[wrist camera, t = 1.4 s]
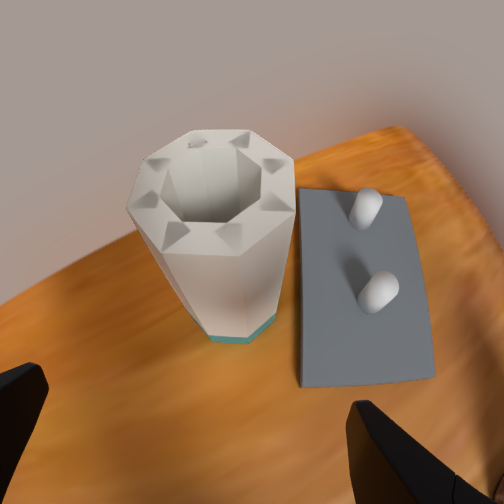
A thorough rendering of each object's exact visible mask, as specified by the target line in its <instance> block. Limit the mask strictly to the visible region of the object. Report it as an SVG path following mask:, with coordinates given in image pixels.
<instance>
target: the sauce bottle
mask: <svg viewBox="0 0 504 504" xmlns="http://www.w3.org/2000/svg"><path fill="white" fill-rule="evenodd" d="M494 501H495V502H497V503H499V504H504V476H503V478H502V479H501V482H500V484H499V486H498V488H497V490H496V493H495V497H494Z"/></svg>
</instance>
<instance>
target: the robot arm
mask: <svg viewBox="0 0 504 504" xmlns="http://www.w3.org/2000/svg"><path fill="white" fill-rule="evenodd" d="M48 391H49V386H48V383H47V380H46V378H45V375H44V373H43V370H42V368H41V367H40V365H38V364H35V363H32V362H28V363H25V364H23V365H20V366H18V367H15V368H13V369H10V370H8V371H5V372H3V373H0V504H2V501H3V499H4V496H5V493H6V491H7V488H8V486H9V483H10V481H11V479H12V476H13V474H14V471H15V469H16V467H17V464H18V462H19V460H20V458H21V456H22V453H23V451H24V449H25V447H26V445H27V443H28V441H29V438H30V436H31V434H32V432H33V430H34V428H35V425H36V423H37V420H38V417H39V415H40V412H41V409H42V407H43V404H44V402H45V399H46V397H47V394H48ZM346 437H347V447H348V458H349V469H350V478H351V483H352V488H353V492H354V497H355V502H356V504H499V503H497V502H495V501H493V500H492V499H490V498H489V497H487V496H486V495H484V494H482V493H481V492H479V491H478V490H477V489H475V488H474V487H473V486H471V485H470V484H469V483H467V482H466V481H465V480H463V479H462V478H461V477H460V476H458V475H455V472H453V471H452V470H451V469H450V468H448V467H447V466H446V465H445V464H444V463H442V462H441V461H440V460H439V459H438V458H436V457H435V456H434V455H433V454H431V453H430V452H429V451H428V450H427V449H425V448H424V447H423V446H422V445H421V444H420V443H418V442H417V441H416V440H415V439H414V438H412V437H411V436H410V435H409V434H408V433H407V432H405V431H404V430H403V429H402V428H401V427H400V426H398V425H397V424H396V423H395V422H394V421H393V420H391V419H390V418H389V417H388V416H387V415H386V414H384V413H383V412H382V411H381V410H380V409H379V408H378V407H376V406H375V405H374V404H373V403H372V402H371V401H369V400H359V401H354V402H353V404H352V406H351V409H350V412H349V415H348V418H347V421H346Z"/></svg>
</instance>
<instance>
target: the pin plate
mask: <svg viewBox="0 0 504 504" xmlns="http://www.w3.org/2000/svg"><path fill="white" fill-rule="evenodd" d="M298 215H299V245H300V297H301V346H300V388H319V387H347V386H364V385H377V384H388V383H398V382H407V381H415V380H423V379H429V378H432V377H435V367H434V354H433V343H432V333H431V324H430V316H429V309H428V302H427V296H426V290H425V284H424V278H423V273H422V268H421V263H420V258H419V253H418V248H417V244H416V240H415V235H414V231H413V227H412V223H411V219H410V215H409V212H408V208H407V204H406V201H405V197H398V196H388V195H380V194H379V193H378V192H377V191H376V190H374V189H372V188H363V189H361V190H360V191H359V192H358V193H357V192H345V191H332V190H318V189H302V188H299V193H298Z"/></svg>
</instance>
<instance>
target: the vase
mask: <svg viewBox="0 0 504 504" xmlns="http://www.w3.org/2000/svg"><path fill="white" fill-rule="evenodd" d="M126 209H127V211H128V213H129V215H130V216H131V218H132V220H133V222H134V224H135V225H136V227H137V229H138V231H139V233H140V234H141V236H142V238H143V240H144V241H145V243H146V245H147V247H148V248H149V250H150V252H151V253H152V255H153V257H154V258H155V260H156V262H157V263H158V265H159V267H160V268H161V270H162V272H163V273H164V275H165V277H166V278H167V280H168V281H169V283H170V285H171V286H172V288H173V289H174V291H175V293H176V294H177V296H178V297H179V299H180V300H181V302H182V303H183V305H184V307H185V308H186V310H187V311H188V313H189V314H190V316H191V317H192V318H193V319H194V321H195V322H196V323H197V324H198V325H199V326H200V328H201V329H202V330H203V331H204V332H205V333H206V335H207V336H208V337H209V338H210V339H211V340H212V342H224V343H241V344H249V343H250V342H251V341H252V340H253V339H254V338H255V337H257V336H258V335H259V334H260V333H261V332H262V331H263V330H265V329H266V328H267V327H268V326H269V325H270V324H271V323H272V322H274V320H275V315H276V310H277V306H278V301H279V296H280V291H281V286H282V282H283V277H284V272H285V267H286V262H287V257H288V251H289V246H290V241H291V236H292V231H293V225H294V220H295V215H296V201H295V178H294V160H293V159H292V158H290V157H289V156H287V155H286V154H285V153H283V152H282V151H280V150H279V149H277V148H276V147H275V146H273V145H272V144H270V143H269V142H267V141H266V140H264V139H263V138H261V137H260V136H258V135H257V134H255V133H254V132H252V131H251V130H192V131H190V132H188V133H186V134H185V135H183V136H181V137H179V138H178V139H176V140H174V141H173V142H171V143H169V144H167V145H166V146H164V147H163V148H161V149H159V150H158V151H156V152H154V153H153V154H151V155H150V156H148V157H146V158H145V159H143V162H142V164H141V167H140V169H139V172H138V175H137V178H136V181H135V183H134V186H133V189H132V192H131V195H130V198H129V201H128V203H127V207H126Z"/></svg>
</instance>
